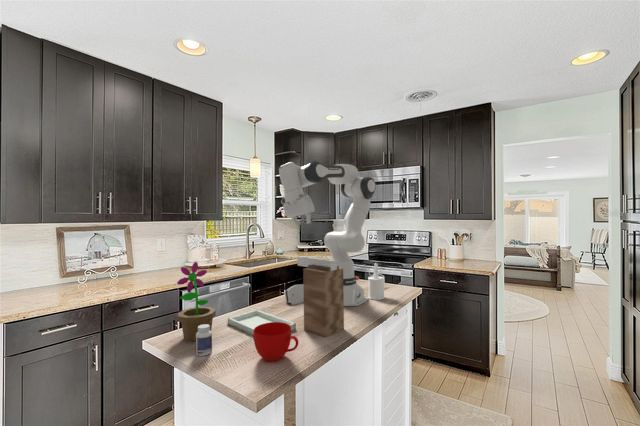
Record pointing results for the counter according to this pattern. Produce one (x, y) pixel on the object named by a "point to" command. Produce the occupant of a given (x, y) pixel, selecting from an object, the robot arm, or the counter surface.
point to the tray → (255, 321)
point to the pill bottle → (203, 340)
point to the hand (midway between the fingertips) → (303, 224)
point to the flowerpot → (197, 314)
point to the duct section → (317, 262)
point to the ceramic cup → (273, 340)
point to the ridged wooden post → (323, 300)
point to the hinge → (295, 294)
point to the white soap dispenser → (376, 285)
